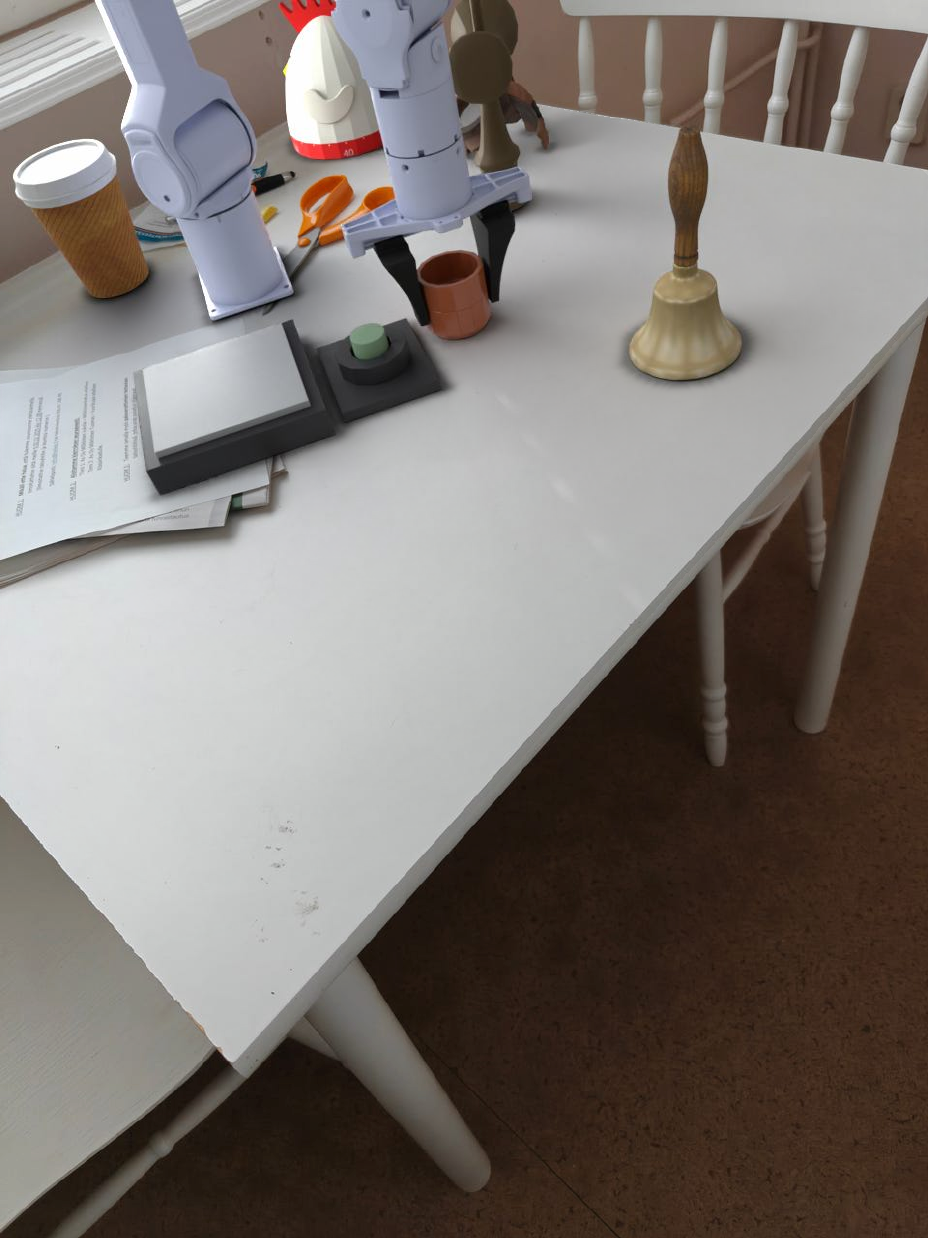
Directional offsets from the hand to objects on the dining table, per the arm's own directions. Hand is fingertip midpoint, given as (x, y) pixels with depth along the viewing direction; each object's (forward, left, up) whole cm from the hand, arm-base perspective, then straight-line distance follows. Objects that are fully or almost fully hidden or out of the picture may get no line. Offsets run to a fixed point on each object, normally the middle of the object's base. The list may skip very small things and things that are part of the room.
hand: (456, 308), depth 77 cm
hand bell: (+13, +14, -2) cm, 19 cm away
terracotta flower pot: (0, 0, -1) cm, 1 cm away
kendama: (-17, +10, -2) cm, 20 cm away
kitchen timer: (-45, +1, -2) cm, 45 cm away
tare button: (+3, -8, +1) cm, 9 cm away
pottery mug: (-29, +14, -2) cm, 32 cm away
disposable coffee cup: (-27, -28, -2) cm, 39 cm away
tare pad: (+3, -8, -1) cm, 9 cm away
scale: (+2, -20, -1) cm, 20 cm away
